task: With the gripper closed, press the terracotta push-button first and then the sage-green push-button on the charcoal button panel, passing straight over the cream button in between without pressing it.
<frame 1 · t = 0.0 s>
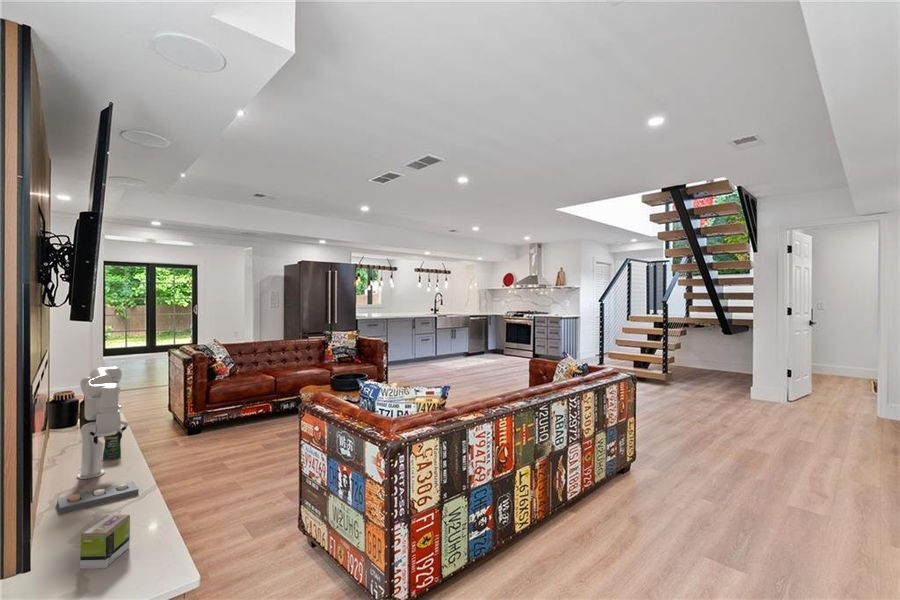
hand: (107, 441, 227), 31 cm above the cabinet, fingers open, 9 cm apart
tea box: (105, 558, 178), on the cabinet
terracotta button: (74, 499, 220), point 3 cm above the cabinet, slide at 0.0 cm
sage button: (122, 488, 235), point 3 cm above the cabinet, slide at 0.0 cm
cream button: (99, 493, 228), point 3 cm above the cabinet, slide at 0.0 cm
button panel: (98, 499, 228), on the cabinet
green snack bag: (112, 458, 284), on the cabinet
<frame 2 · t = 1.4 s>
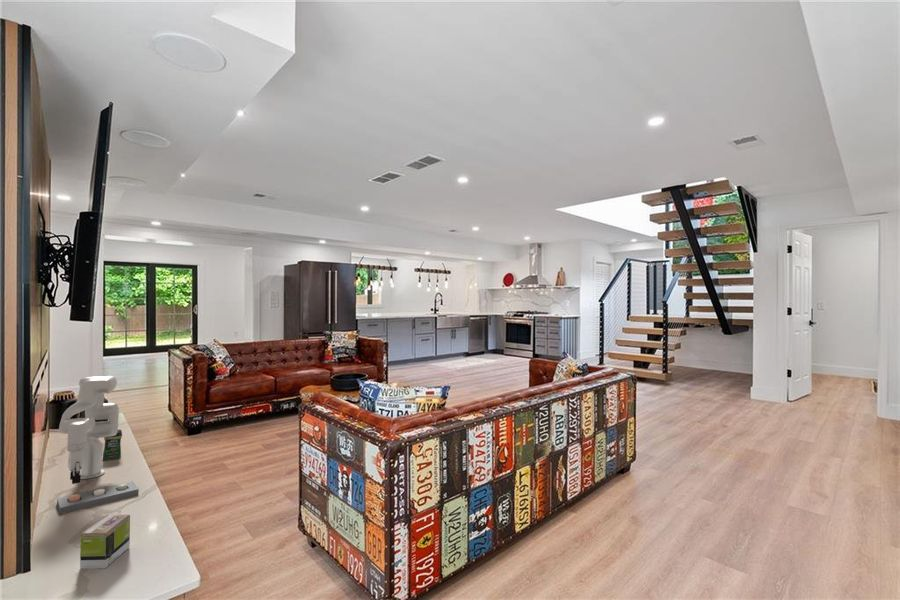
hand: (75, 480, 221), 13 cm above the cabinet, fingers open, 6 cm apart
nothing on the cabinet moved.
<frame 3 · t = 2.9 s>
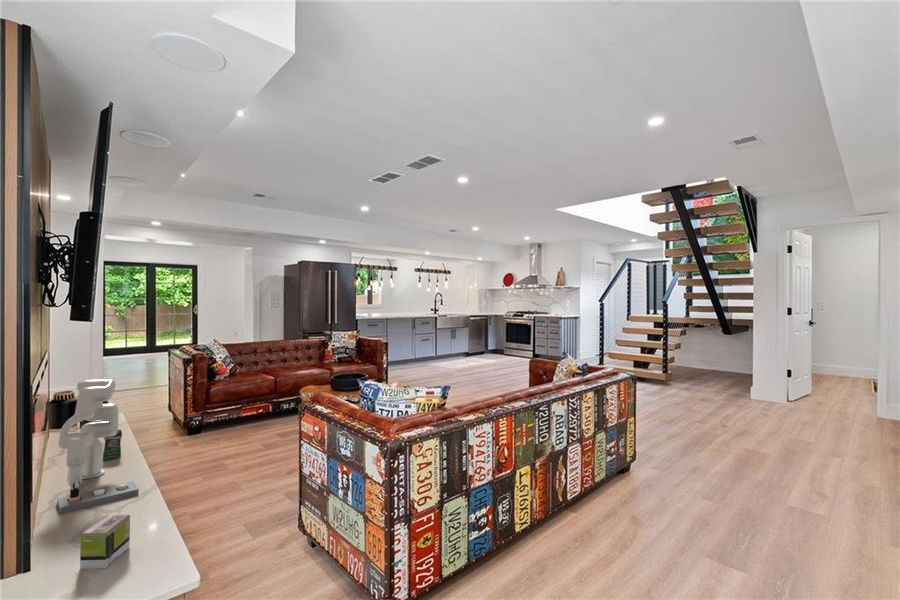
hand: (74, 496, 220), 4 cm above the cabinet, fingers closed
terracotta button: (74, 499, 220), point 3 cm above the cabinet, slide at 0.1 cm, touching gripper
everything else where it was.
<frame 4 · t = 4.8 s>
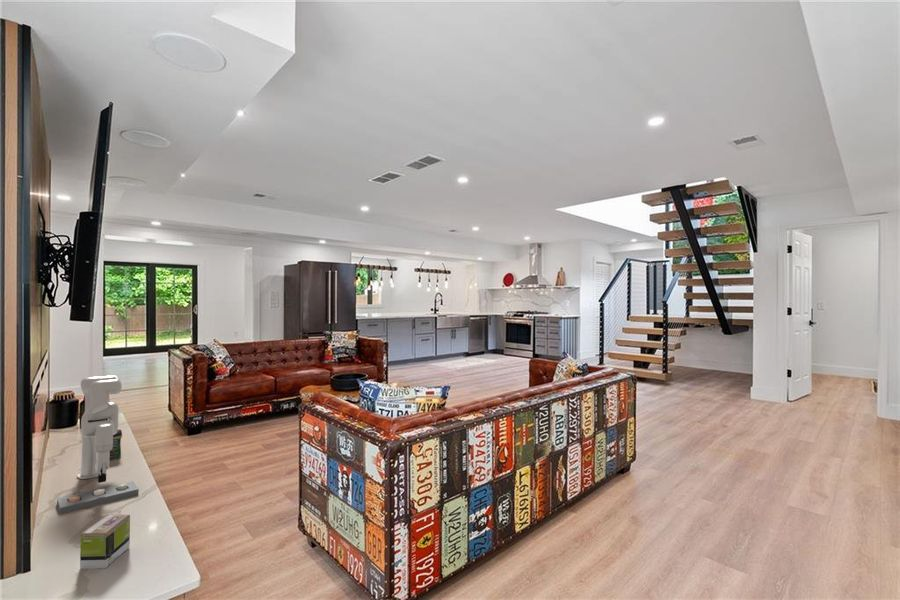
hand: (102, 481, 229), 9 cm above the cabinet, fingers closed
terracotta button: (74, 501, 220), point 2 cm above the cabinet, slide at 0.8 cm
everything else where it was.
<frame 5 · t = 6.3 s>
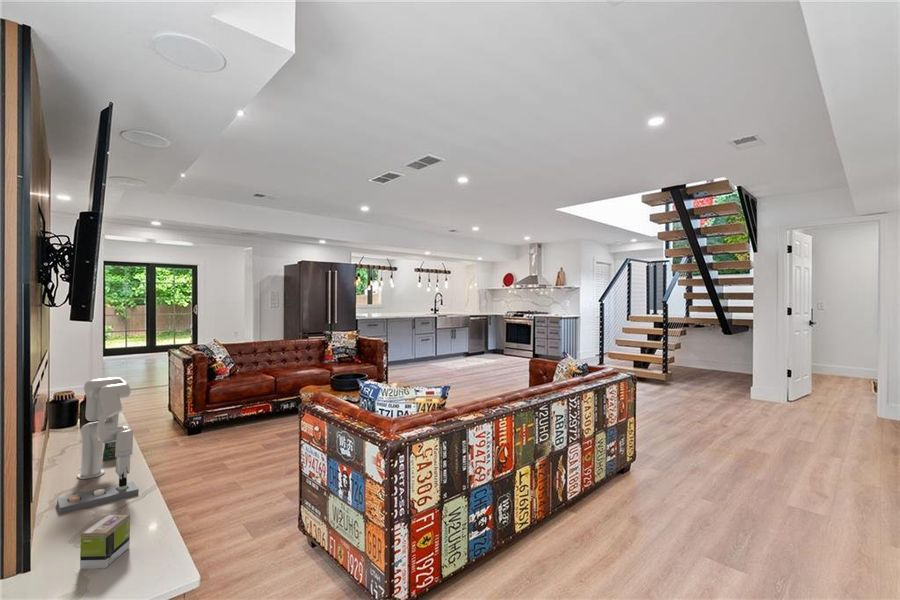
hand: (122, 485, 235), 4 cm above the cabinet, fingers closed
sage button: (122, 488, 235), point 3 cm above the cabinet, slide at 0.2 cm, touching gripper
everything else where it was.
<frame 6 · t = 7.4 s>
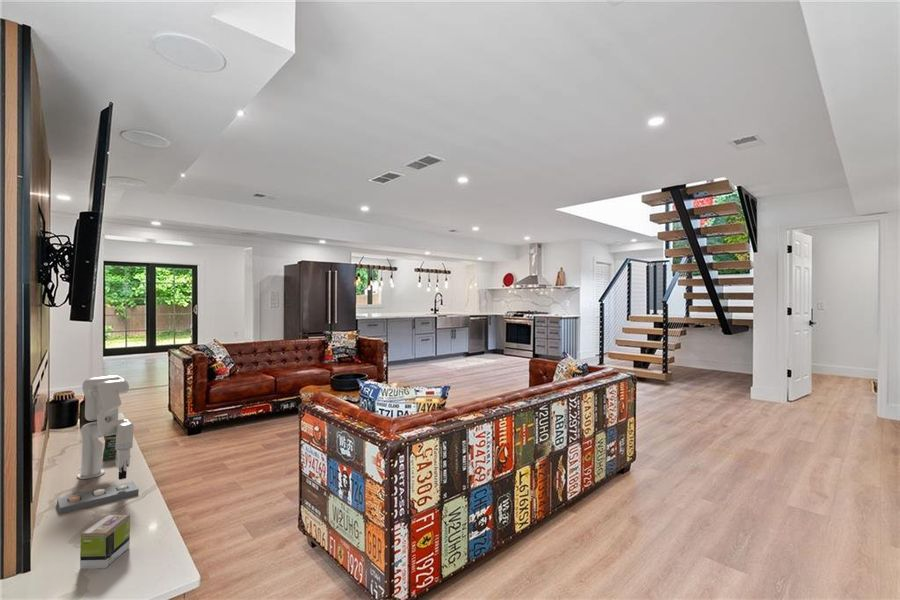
hand: (122, 478, 235), 8 cm above the cabinet, fingers closed
sage button: (122, 489, 235), point 2 cm above the cabinet, slide at 0.8 cm
everything else where it was.
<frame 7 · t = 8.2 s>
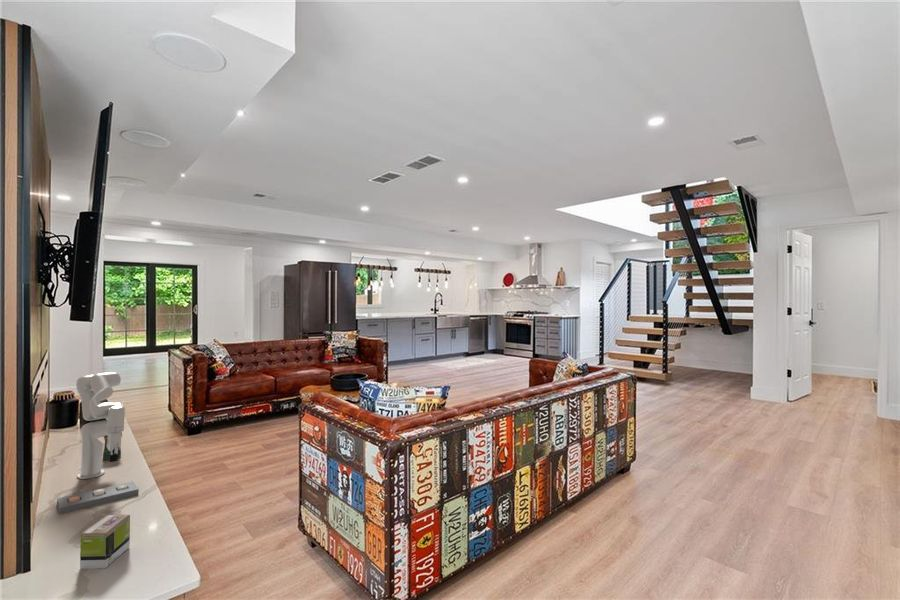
hand: (113, 461, 238), 17 cm above the cabinet, fingers closed
nothing on the cabinet moved.
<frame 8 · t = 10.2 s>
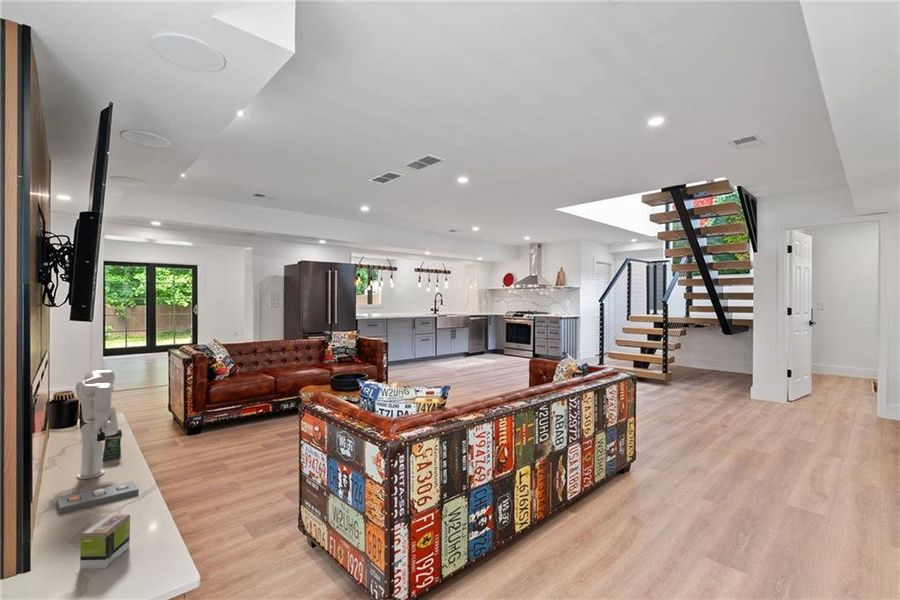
hand: (100, 440, 240), 27 cm above the cabinet, fingers closed
nothing on the cabinet moved.
at the end: terracotta button slide at 0.8 cm; sage button slide at 0.8 cm; cream button slide at 0.0 cm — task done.
